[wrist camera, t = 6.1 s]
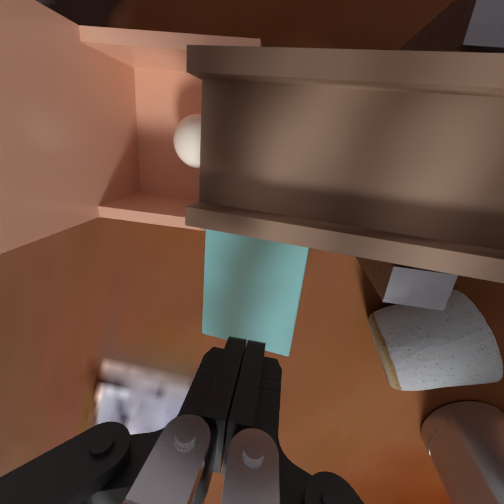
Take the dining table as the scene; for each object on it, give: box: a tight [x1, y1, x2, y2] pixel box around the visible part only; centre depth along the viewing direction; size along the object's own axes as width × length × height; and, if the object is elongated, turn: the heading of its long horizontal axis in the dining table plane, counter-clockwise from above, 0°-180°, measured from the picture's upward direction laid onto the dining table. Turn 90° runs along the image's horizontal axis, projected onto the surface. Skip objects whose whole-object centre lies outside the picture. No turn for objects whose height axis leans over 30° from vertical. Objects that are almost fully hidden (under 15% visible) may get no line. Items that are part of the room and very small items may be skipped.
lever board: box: [185, 45, 504, 357], centre depth 17 cm, size 20×16×10 cm
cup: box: [0, 0, 262, 254], centre depth 17 cm, size 12×12×16 cm
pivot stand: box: [356, 0, 504, 311], centre depth 18 cm, size 3×13×12 cm, turn 175°
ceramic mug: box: [368, 290, 503, 391], centre depth 25 cm, size 11×8×8 cm
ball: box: [173, 114, 201, 169], centre depth 22 cm, size 4×4×4 cm
